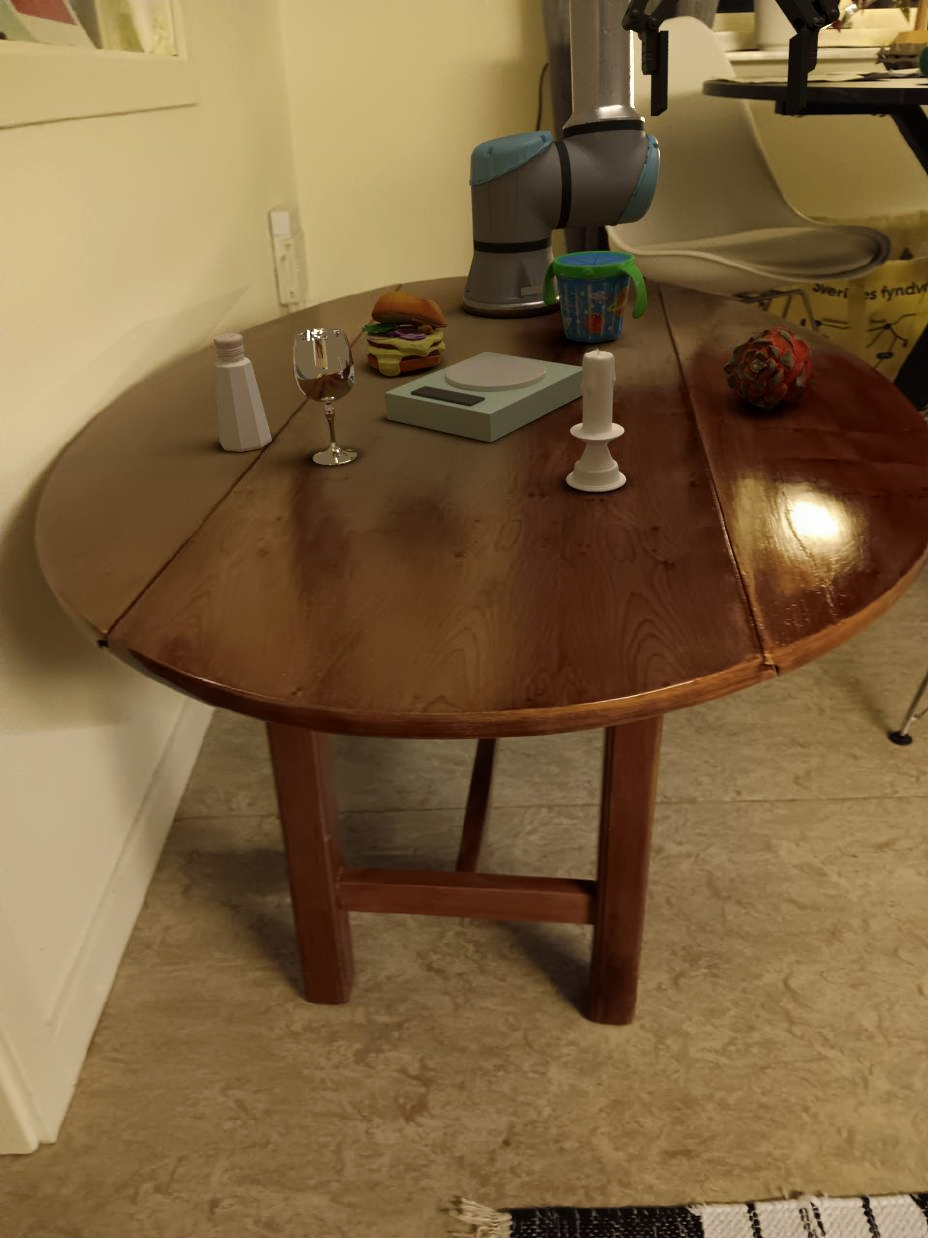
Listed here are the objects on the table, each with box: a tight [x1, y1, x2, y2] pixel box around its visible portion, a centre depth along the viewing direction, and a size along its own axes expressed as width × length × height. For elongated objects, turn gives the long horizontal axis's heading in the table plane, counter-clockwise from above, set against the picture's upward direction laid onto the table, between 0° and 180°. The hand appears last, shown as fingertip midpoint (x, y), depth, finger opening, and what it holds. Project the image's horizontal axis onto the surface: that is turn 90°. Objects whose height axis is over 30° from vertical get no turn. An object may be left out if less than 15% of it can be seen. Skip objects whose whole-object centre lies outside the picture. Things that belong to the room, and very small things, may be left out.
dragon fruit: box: [723, 325, 813, 410], centre depth 100 cm, size 8×8×12 cm
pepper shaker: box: [213, 332, 273, 453], centre depth 96 cm, size 5×5×11 cm
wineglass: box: [292, 327, 359, 466], centre depth 91 cm, size 6×6×12 cm
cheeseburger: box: [361, 290, 449, 377], centre depth 119 cm, size 10×11×10 cm
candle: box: [565, 348, 627, 493], centre depth 83 cm, size 5×5×12 cm
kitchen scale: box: [384, 351, 583, 443], centre depth 104 cm, size 18×14×4 cm
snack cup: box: [542, 250, 648, 344], centre depth 125 cm, size 16×10×10 cm
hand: (728, 112), depth 91 cm, fingers open, 13 cm apart
